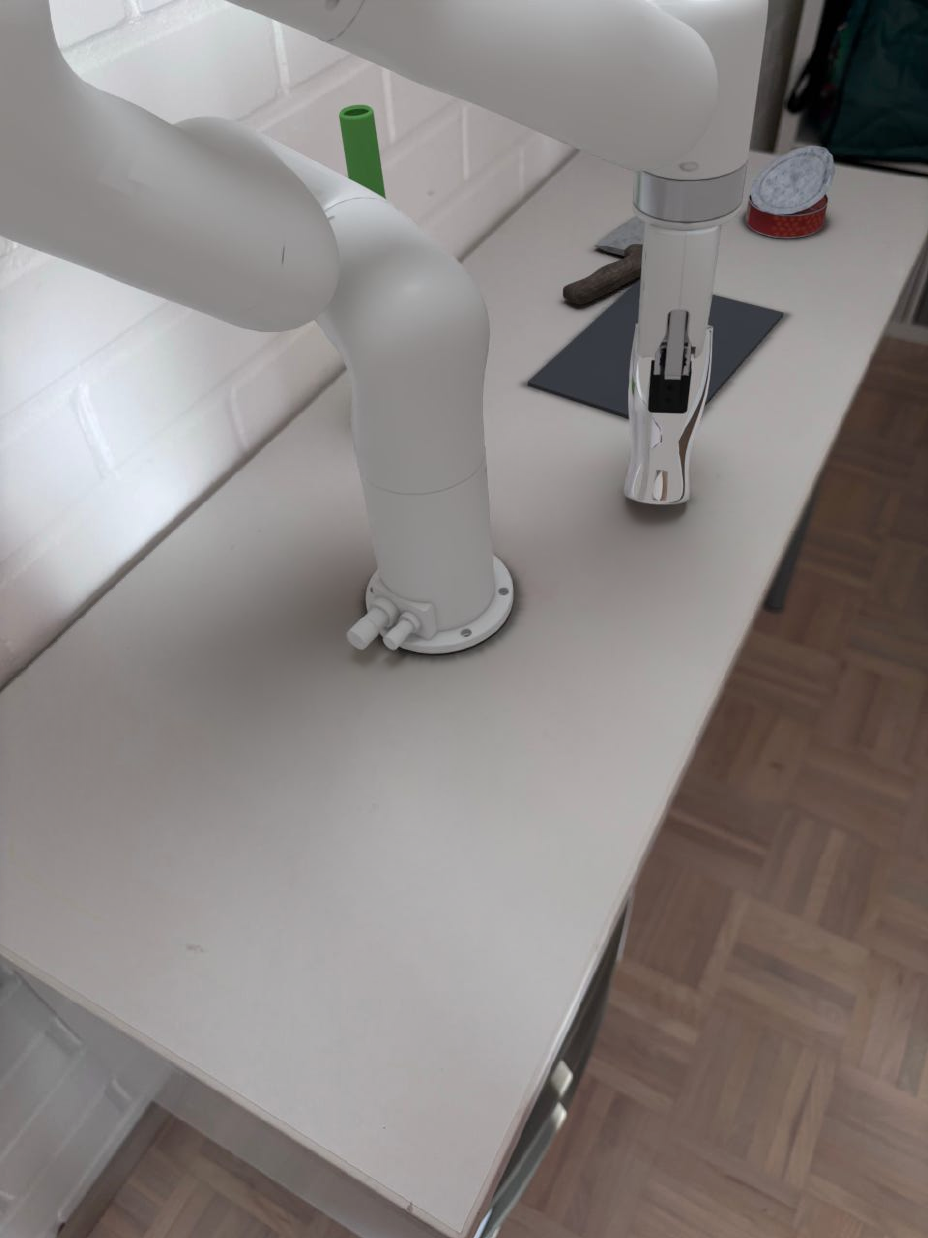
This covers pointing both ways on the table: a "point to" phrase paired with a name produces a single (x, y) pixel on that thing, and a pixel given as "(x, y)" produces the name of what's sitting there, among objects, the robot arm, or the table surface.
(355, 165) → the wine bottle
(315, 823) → the table surface
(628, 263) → the cleaver
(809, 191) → the canned food
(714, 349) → the mat
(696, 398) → the beer glass
